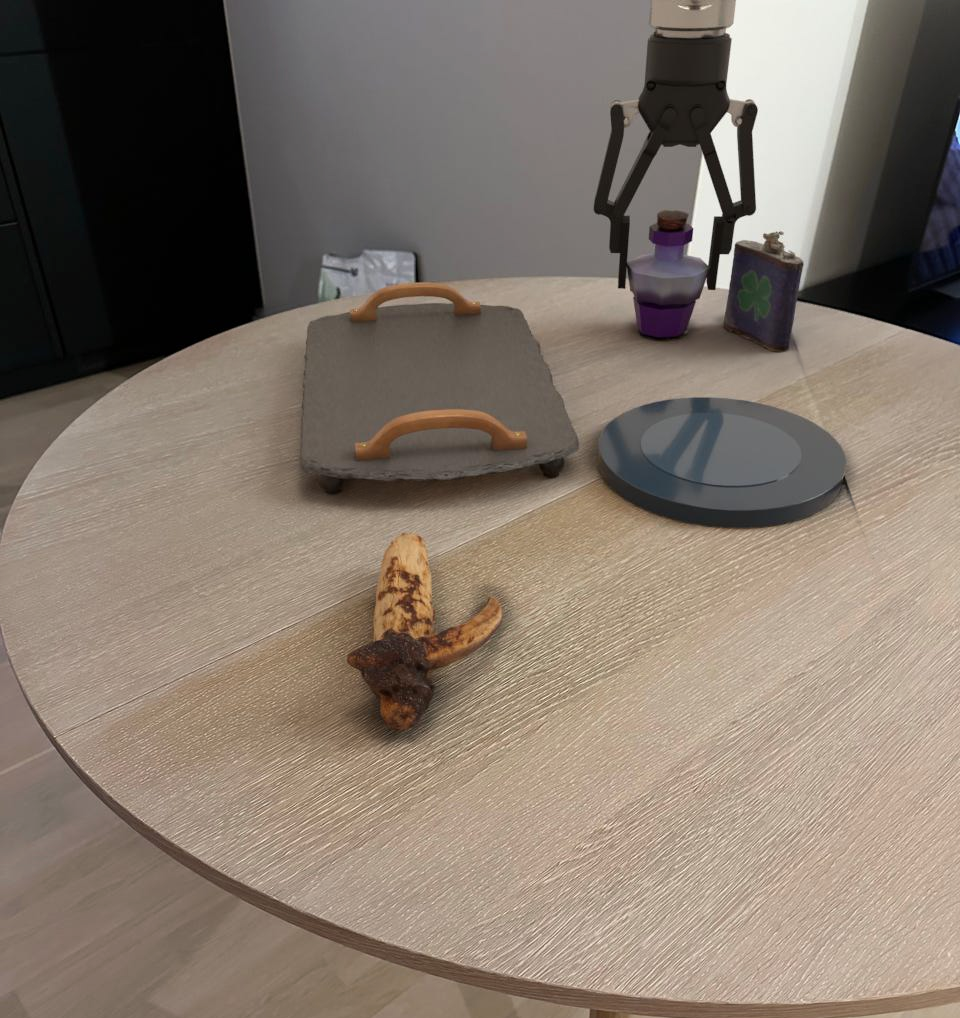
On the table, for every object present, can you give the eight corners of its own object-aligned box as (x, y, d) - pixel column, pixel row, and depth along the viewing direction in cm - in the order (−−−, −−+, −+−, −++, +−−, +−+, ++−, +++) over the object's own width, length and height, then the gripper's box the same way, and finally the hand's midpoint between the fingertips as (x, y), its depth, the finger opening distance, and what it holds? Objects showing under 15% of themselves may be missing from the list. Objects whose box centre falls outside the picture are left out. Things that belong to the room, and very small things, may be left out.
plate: (821, 417, 87) (825, 399, 86) (863, 534, 71) (869, 515, 70) (599, 409, 89) (600, 392, 88) (593, 521, 74) (595, 502, 72)
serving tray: (310, 335, 105) (302, 278, 101) (519, 322, 107) (519, 265, 103) (300, 517, 75) (289, 445, 71) (592, 495, 77) (597, 423, 73)
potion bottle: (668, 311, 108) (679, 197, 101) (719, 334, 103) (734, 215, 95) (605, 326, 105) (612, 210, 98) (654, 351, 99) (665, 229, 92)
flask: (717, 326, 105) (732, 222, 98) (738, 321, 106) (755, 218, 100) (775, 354, 99) (795, 246, 92) (797, 348, 100) (818, 241, 93)
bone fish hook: (508, 743, 55) (498, 563, 69) (512, 682, 52) (500, 507, 66) (346, 743, 55) (368, 562, 69) (340, 682, 52) (364, 506, 66)
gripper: (570, 38, 85) (562, 295, 99) (818, 35, 83) (774, 298, 97) (573, 27, 91) (566, 272, 105) (805, 25, 89) (765, 275, 103)
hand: (665, 284), depth 101 cm, fingers closed on potion bottle, 8 cm apart
